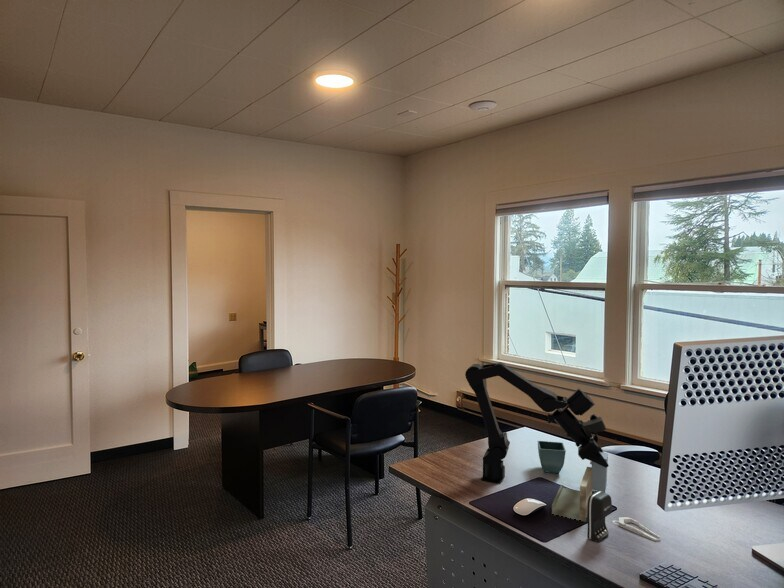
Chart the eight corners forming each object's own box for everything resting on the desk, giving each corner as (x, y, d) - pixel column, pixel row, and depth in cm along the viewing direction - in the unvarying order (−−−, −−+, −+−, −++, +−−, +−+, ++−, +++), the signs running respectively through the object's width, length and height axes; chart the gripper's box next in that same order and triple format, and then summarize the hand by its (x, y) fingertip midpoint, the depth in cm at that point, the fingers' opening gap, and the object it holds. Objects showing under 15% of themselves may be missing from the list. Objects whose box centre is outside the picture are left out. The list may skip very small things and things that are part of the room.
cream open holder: (551, 514, 145) (552, 480, 144) (561, 493, 159) (561, 462, 159) (585, 521, 140) (586, 486, 140) (592, 499, 155) (592, 467, 154)
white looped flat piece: (667, 540, 133) (667, 534, 133) (657, 546, 130) (658, 540, 130) (620, 518, 143) (620, 512, 143) (610, 523, 140) (611, 517, 140)
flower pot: (565, 476, 173) (566, 450, 172) (539, 474, 174) (539, 448, 174) (562, 466, 181) (562, 442, 181) (537, 464, 183) (537, 440, 183)
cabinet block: (587, 488, 158) (589, 456, 157) (589, 481, 163) (591, 450, 163) (605, 492, 156) (606, 459, 155) (606, 485, 161) (608, 453, 160)
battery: (600, 544, 128) (601, 501, 128) (586, 539, 131) (587, 496, 131) (613, 535, 133) (613, 493, 133) (599, 530, 136) (599, 488, 136)
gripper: (590, 416, 150) (630, 457, 147) (589, 401, 168) (624, 438, 165) (562, 439, 153) (600, 480, 150) (563, 422, 171) (598, 458, 168)
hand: (607, 463), depth 158 cm, fingers closed on cabinet block, 6 cm apart
